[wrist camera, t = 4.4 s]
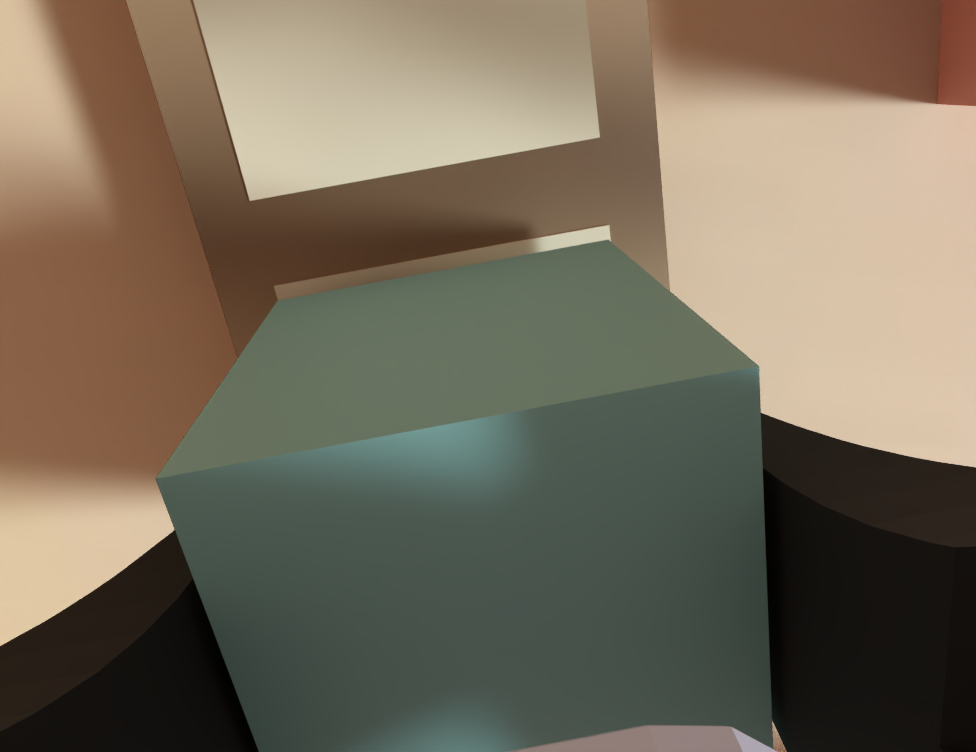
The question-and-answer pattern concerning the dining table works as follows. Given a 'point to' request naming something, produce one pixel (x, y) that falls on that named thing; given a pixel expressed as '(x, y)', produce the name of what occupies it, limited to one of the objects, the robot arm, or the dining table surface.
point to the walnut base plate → (403, 136)
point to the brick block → (957, 53)
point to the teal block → (483, 513)
